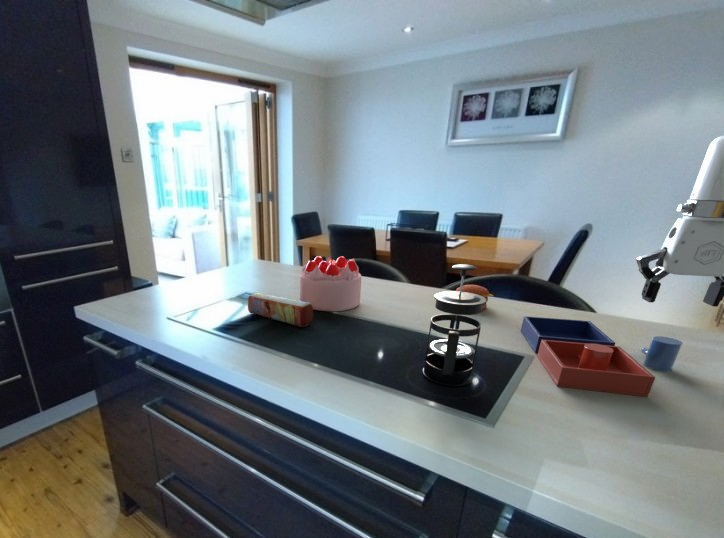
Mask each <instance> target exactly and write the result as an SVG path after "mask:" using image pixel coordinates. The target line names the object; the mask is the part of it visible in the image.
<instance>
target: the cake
mask: <svg viewBox="0 0 724 538" xmlns="http://www.w3.org/2000/svg"><path fill="white" fill-rule="evenodd" d="M359 271H360V270H359V266H358V265H357V263H356V259H355V258H354V257H353V258H352V259H349V260H348V261H347V259H346V257H345V256H343V255H342V256H339V257H338V258H337V259H336V260H334V259H332V258H331V257H330V256H327V260H324V259H323V257H322V256H321V255H317V256H316V257H315V258H314V260H311V258H308V260H307V261H306V263H305V264H304V266H303V267H302V269H301V273H300V275H299V301H303V302H309V303H311V304H312V306H313V311H319V312H321V311H322V312H342V311H347V310H352V309H355V308H357V307H358V306H359V304H360V303H361V291H362V274H361V273H360V272H359Z"/></svg>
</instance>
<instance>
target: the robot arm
mask: <svg viewBox="0 0 724 538" xmlns="http://www.w3.org/2000/svg"><path fill="white" fill-rule="evenodd" d="M697 174H698V175H697V177H696V180H695V182H694V185H693V187H692V191H691V193H690V196H689V199H687V201H686V202H685V203H680V204H678V205H677V207H676V211H677V212H678V213H682V217H678V218H677V219H676V220H675V222H674V223H673V224H672V226H671V228H670V230H669V232H668V233H667V235H666V238H665V239H664V241H663V243H662V245H661V247H660V249H658V250H655V251H652V252H650V253H646V254H643V255H641V256H638V257H636V259H635V261H636V264H637V267H638V271H639V273H640V275H642V276H643V279H645V283H644V284H643V288H642V290H641V298H642V300H644V301H646V302H647V303H655V302H656V299H657V296H658V293H659V291H660V289H661V286H662V284H661V282H659V281H660V280H662V279H664V278H666V277H667V276H668V275H670V274H671V275H674V276H675V275H676V276H677V275H678V276H691V277H692V276H693V277H695V276H696V277H712V278H713V280H714V281H711V283H709V286H708V288H707V289H706V293H705V295H704V297H703V299H702V302H703V303H704V304H707V305H709V306H711V307H715V308H716V307H719V305H720V303H721V301H723V300H724V134H723V135H719V136H718V137H716V138H714V139H713V140H712V141H711V142H710V144H709V145H708V148H707V150H706V153H705V156H704V159H703V161H702V164H701V166H700V170H699V172H698V173H697ZM653 261H655V267H654V268H653V269H651V268H650V262H653Z"/></svg>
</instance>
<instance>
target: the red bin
mask: <svg viewBox="0 0 724 538" xmlns="http://www.w3.org/2000/svg"><path fill="white" fill-rule="evenodd" d="M585 344H586V343H575V342H564V341H552V340H541V343H540V347H539V351H538V353H537V358H538V360H539V361H540V363H541V364H542V365H543V367H544V369H545V370H546V372H547V373H548V375H549V376H550V378H551V380H552V381H553V382H554V384H555V385H556V387H561V388H569V389H577V390H586V391H593V392H603V393H612V394H620V395H627V396H636V397H645V398H648V397H649V394H650V392H651V389H652V387H653V385H654V382H655V380H656V376H655V375H653V374H652V373H651V372H650V371H649V370H648V369H646V368H645V366H643V365H642V364H641V363H640V362H638V361H637V360H636V359H635V358H634V357H632V356H631V355H630V354H629V353H628V352H626V351H625V350H624V349H623V348H622V347H621V346H619V345H615V346H609V345H604V346H607V347H610V348H611V349H613V353H612V356H611V359H610V362H609V365H608V368H607V371H602V370H593V369H583V368H578V365H579V362H580V361H579V360H578V359H577V357H578V356H579V355H582V352H583V349H584V346H585Z"/></svg>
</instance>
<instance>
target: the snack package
mask: <svg viewBox="0 0 724 538" xmlns="http://www.w3.org/2000/svg"><path fill="white" fill-rule="evenodd" d="M247 311H248V312H249V314H251V313H254V314H253V315H256V314H258V315H257V316H260V315H261V317H264V318H267V317H268V318H267V319H270V318H271V319H270V320H274V321H277V322H282V323H285V324H288V325H293V326H296V327H298V328H305V327H307V326H309V325H310V324H311V323H312V322H313V319H314V309H313V306H312V304H311V303H309V302H303V301H300V300H298V299H292V298H286V297H282V296H276V295H272V294H265V293H260V292H254V293H253V294H250V295H249V296H248V298H247Z"/></svg>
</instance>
